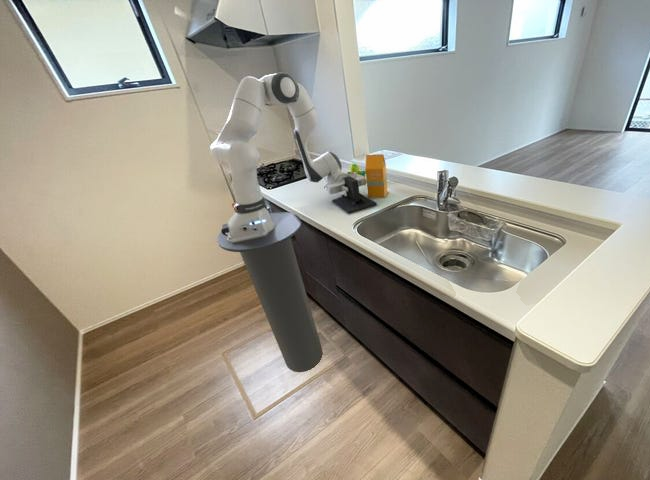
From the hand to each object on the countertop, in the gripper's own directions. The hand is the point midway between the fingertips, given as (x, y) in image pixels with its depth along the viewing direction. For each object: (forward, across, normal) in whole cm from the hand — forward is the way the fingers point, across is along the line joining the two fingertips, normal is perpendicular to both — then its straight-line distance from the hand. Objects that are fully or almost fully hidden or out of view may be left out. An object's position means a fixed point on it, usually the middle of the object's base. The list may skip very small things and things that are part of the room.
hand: (352, 188), depth 143 cm
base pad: (-1, 0, +8) cm, 8 cm away
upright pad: (-1, 0, +6) cm, 6 cm away
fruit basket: (-30, +16, +8) cm, 35 cm away
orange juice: (-3, +15, +8) cm, 17 cm away
